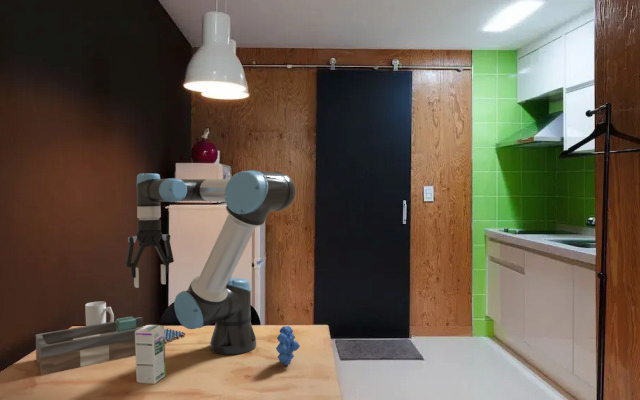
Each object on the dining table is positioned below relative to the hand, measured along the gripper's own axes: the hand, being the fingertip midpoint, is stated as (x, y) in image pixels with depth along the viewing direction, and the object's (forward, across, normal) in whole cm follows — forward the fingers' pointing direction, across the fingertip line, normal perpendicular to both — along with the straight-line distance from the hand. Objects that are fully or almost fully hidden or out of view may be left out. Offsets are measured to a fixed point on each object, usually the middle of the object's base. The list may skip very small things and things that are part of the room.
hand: (150, 285), depth 157 cm
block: (+15, +8, 0) cm, 17 cm away
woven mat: (+21, -6, -4) cm, 22 cm away
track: (+20, +17, 0) cm, 26 cm away
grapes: (+21, -27, +45) cm, 56 cm away
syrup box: (+21, +9, +30) cm, 37 cm away
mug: (+21, +12, -20) cm, 31 cm away
